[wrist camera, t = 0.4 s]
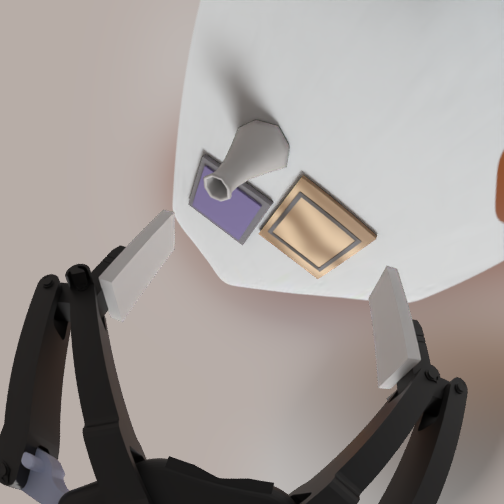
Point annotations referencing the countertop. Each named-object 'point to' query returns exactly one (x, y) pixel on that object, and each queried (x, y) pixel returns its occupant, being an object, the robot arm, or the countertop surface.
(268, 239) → the marked board
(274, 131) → the flask
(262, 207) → the ink pad
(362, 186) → the countertop surface
